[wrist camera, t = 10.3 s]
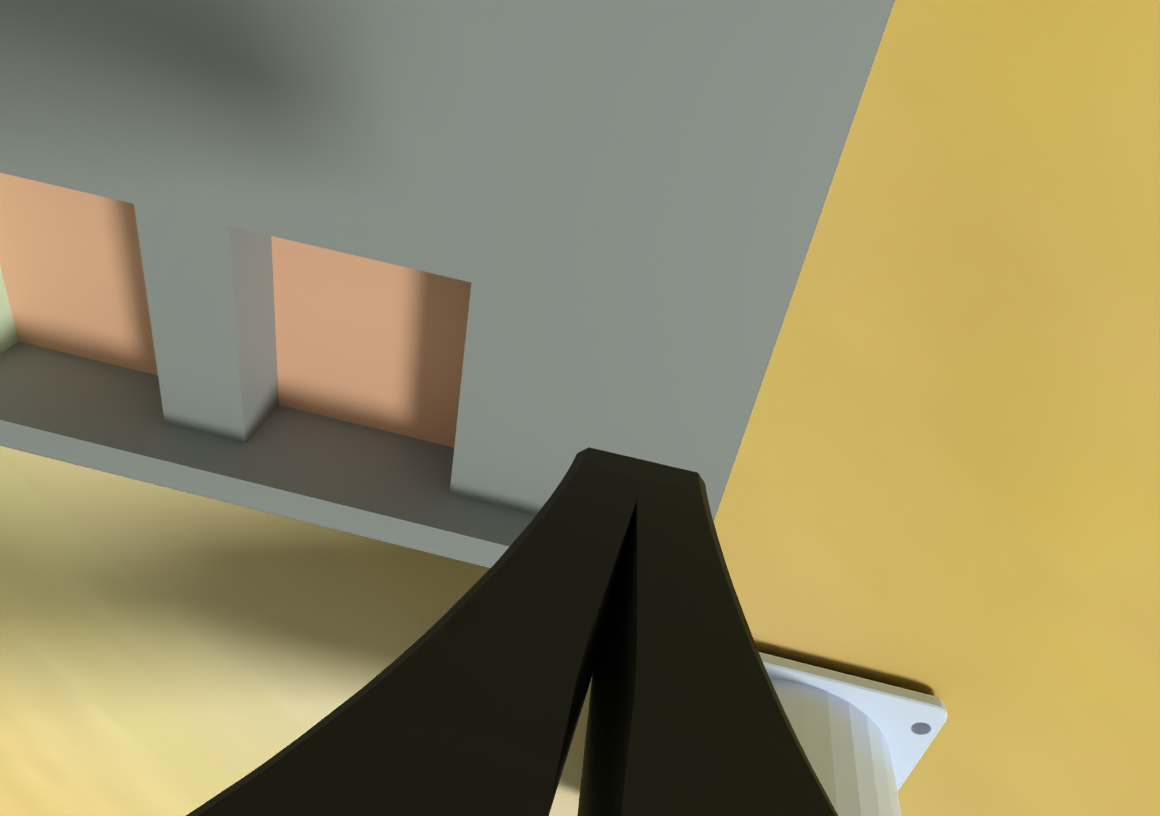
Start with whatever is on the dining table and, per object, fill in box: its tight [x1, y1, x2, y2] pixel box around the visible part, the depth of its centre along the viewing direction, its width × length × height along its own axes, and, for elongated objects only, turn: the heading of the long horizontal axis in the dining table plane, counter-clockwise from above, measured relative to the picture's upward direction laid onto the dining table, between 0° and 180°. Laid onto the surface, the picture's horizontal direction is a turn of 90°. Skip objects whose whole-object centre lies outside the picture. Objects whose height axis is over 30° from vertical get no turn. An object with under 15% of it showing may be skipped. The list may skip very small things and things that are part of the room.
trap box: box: [0, 0, 895, 568], centre depth 17 cm, size 15×27×3 cm, turn 81°
